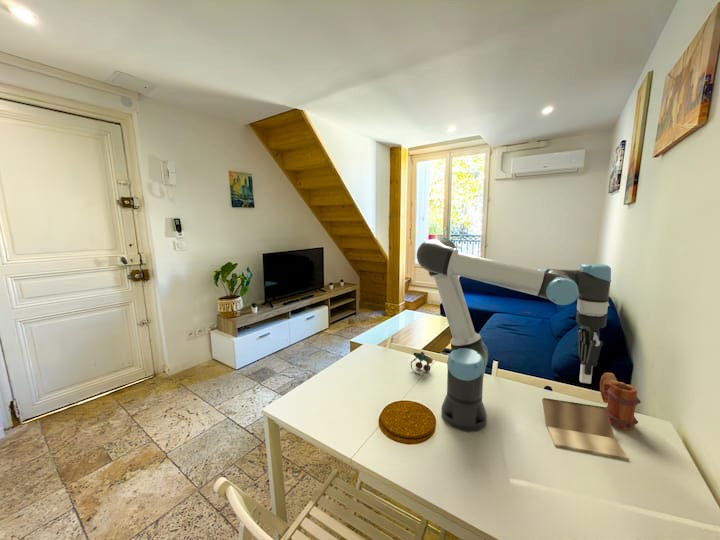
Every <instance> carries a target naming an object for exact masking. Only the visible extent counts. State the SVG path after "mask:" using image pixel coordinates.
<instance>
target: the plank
mask: <svg viewBox="0 0 720 540" xmlns="http://www.w3.org/2000/svg"><path fill="white" fill-rule="evenodd" d="M541 400H542V407H543V414H544V420H545V421H544V422H545V427H546V428H547V426H548V427H554V428H559V429H565V430H571V431H576V432H582V433H588V434H593V435H599V436H604V437H610V438H615V435H614V431H613V428H612V425H611V423H610V419H609V416H608V412H607V408H606V407H607V406H599V405H593V404H586V403H580V402H574V401H567V400H566V401H565V400H559V399H553V398H546V397H543V398H542V399H541ZM615 439H616V438H615Z"/></svg>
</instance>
